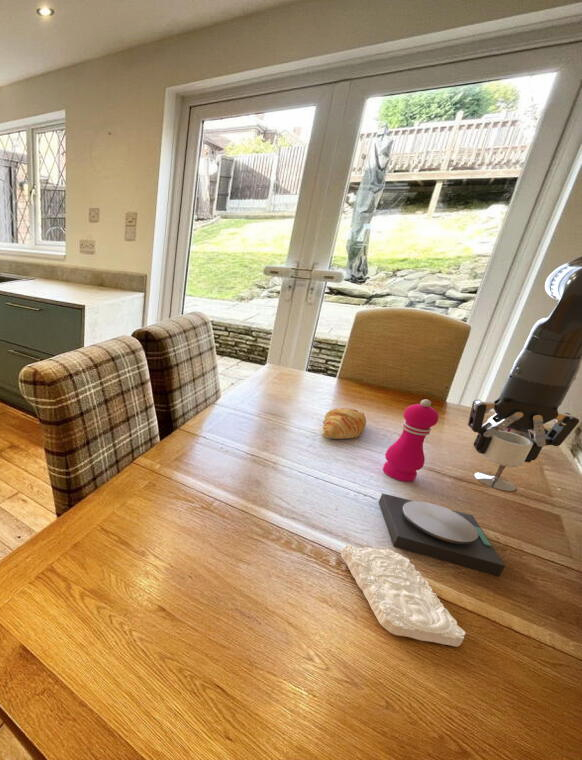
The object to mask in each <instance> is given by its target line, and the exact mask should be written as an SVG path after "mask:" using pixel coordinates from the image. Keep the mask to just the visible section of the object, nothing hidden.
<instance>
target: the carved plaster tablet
mask: <svg viewBox="0 0 582 760" xmlns="http://www.w3.org/2000/svg"><path fill="white" fill-rule="evenodd" d="M340 557H341V558H342V561H344V563H345V564H346V566H347V568H348V570H349V571H350V573H351V575H352V577H353V579H355V582H356V584H357V586H358V588H359V589H360V590H361V591H362V593H363V595H364V597H365V599H366V600H367V602H368V604H369V606H370V608H371V610H372V612H373V613H374V615H375V618H376V619H377V621H378V623H379V624H380V626H381V627H383V629H385V630H386V631H387V632H388V633H390V634H392V635H394V636H399V637H408V638H411V639H414V640H418V641H422V642H430V643H435V644H440V645H447V646H451V647H456V648H457V647H460V646H461V645H462V643H463V641H464V640H465V636H466V631H465V630H464V629H463V628H462V627H460V626H459V625H458V621H457V620H456V618H454V617H453V615H451V613H450V612H449V610H448V609H447V608H445V606H444V604H443V603H442V602H441V600H440V598H438V596H437V593H435V592H433V591H434V590H433V588H432V587H431V586H430V583H429V582H428V580H427V579H426V578H425V579H424V578H423V577H422V573H421V572H420V571H419V570H416V566H415V565H414V564H413V563H411V562H410V559H409V558H408V557H406V556H404V555H402V554H401V553H398V552H395V551H393V550H392V549H389V548H386V549H378V548H375V547H368V546H365V547H364V546H363V548H362V547H356V546H353V545H351V544H346V545H345V546H344V547H343V548H342V551H341V553H340Z"/></svg>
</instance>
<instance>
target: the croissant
mask: <svg viewBox="0 0 582 760" xmlns="http://www.w3.org/2000/svg"><path fill="white" fill-rule="evenodd" d="M322 422H323V426H322V431H321V435H322V437H324V438H326V439H335V440H341V439H343V440H344V439H352V438H354V439H356V438H359V437H360V435H361V434H362V432H364V430H365V429H366V426H367V418H366V416H365V413H363V412H360V411H359V410H357V409H353V408H348V407H347V408H346V407H340V408H334V409H331V410H329V411H327V412H326V413H325V415H324V420H323V421H322Z"/></svg>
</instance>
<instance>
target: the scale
mask: <svg viewBox="0 0 582 760" xmlns="http://www.w3.org/2000/svg"><path fill="white" fill-rule="evenodd" d="M411 501H413V500H412V499H407V498H403V497H399V496H395V495H390V494H387V493H381V495H380V497H379V500H378V504H379V508H380V510H381V513H382V517H383V518H384V522H385V526H386V528H387V532H388V534H389V537H390V540H391V543H392V546H393V547H395V548H398V549H402V550H405V551H409V552H412V553H414V554H415V553H416V554H419V555H423V556H427V557H429V558H434V559H437V560H440V561H443V562H448V563H450V564H453V565H458V566H461V567H464V568H467V569H472V570H475V571H479V572H482V573H486V574H489V575H492V576H496V577H500V576H501V574H502V573H503V571H504V569H505V568H506V565H505V563H504V562H503V560H502V558H501V557H500V555H499V553H498V552H497V551H496V549H495V547H494V546H493V545H492V543H491V541H490V540H489V538H488V537H487V535H486V534H485V532H484V530H483V529H482V528H481V526H480V525H479V523H478V522H477V520H476V518H475V517H474V515H473V514H469V513H465V512H461V511H457V510H452V509H450V510H451V511H453V512H455V513H457V514H458V515H460V516H462V517H463V518H465V519H466V520H467V521H469V522H470V523H471V524H472V525H473V526H474V527H475V528H476V530H477V532H478V538H477V540H476V541H475V542H473V543H470V544H457V543H452V542H448V541H444V540H441V539H438V538H436V537H433V536H431V535H429V534H427V533H425V532H423V531H422V530H420V529H418V528H417V527H415V526H414V525H413V524H411V523H410V522H409V521H408V520H407V519H406V518H405V516H404V515H403V512H402V508H403V506H404V504H406V503H407V502H411Z"/></svg>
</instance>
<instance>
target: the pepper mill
mask: <svg viewBox="0 0 582 760" xmlns="http://www.w3.org/2000/svg"><path fill="white" fill-rule="evenodd" d="M431 405H432V401H431V400H430V399H422V400H421V401H420V403H416V404H411V405H409V406H407V407H406V408H405V410H404V412H403V418H404V421H403V422H402V425H401V428H402V433H401V434H400V436H399V438H398V439H397V440H395V441H394V442H393V443H392V444H391V445H390V446H389V447H388V448H387V450H386V452H385V454H384V457H385V460H386V461H385V462H384V464H383V467H382V471H383V472H384V474H386V475H387V476H389V477H391V478H392V479H394V480H398V481H401V482H408V483H411V482H413V481H415V480H416V478H417V475H418V472H417V471H419V470H422V468H423V467H424V466H425V460H426V459H425V457H426V456H425V453H424V441H425V439H426V436H428V435H430V434H431V431H432V428H431V427H434V426H435V425H437V424H438V422H439V418H440V416H439V413H438V412H437V410H436V409H435V408H433V407H432V406H431Z"/></svg>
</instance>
